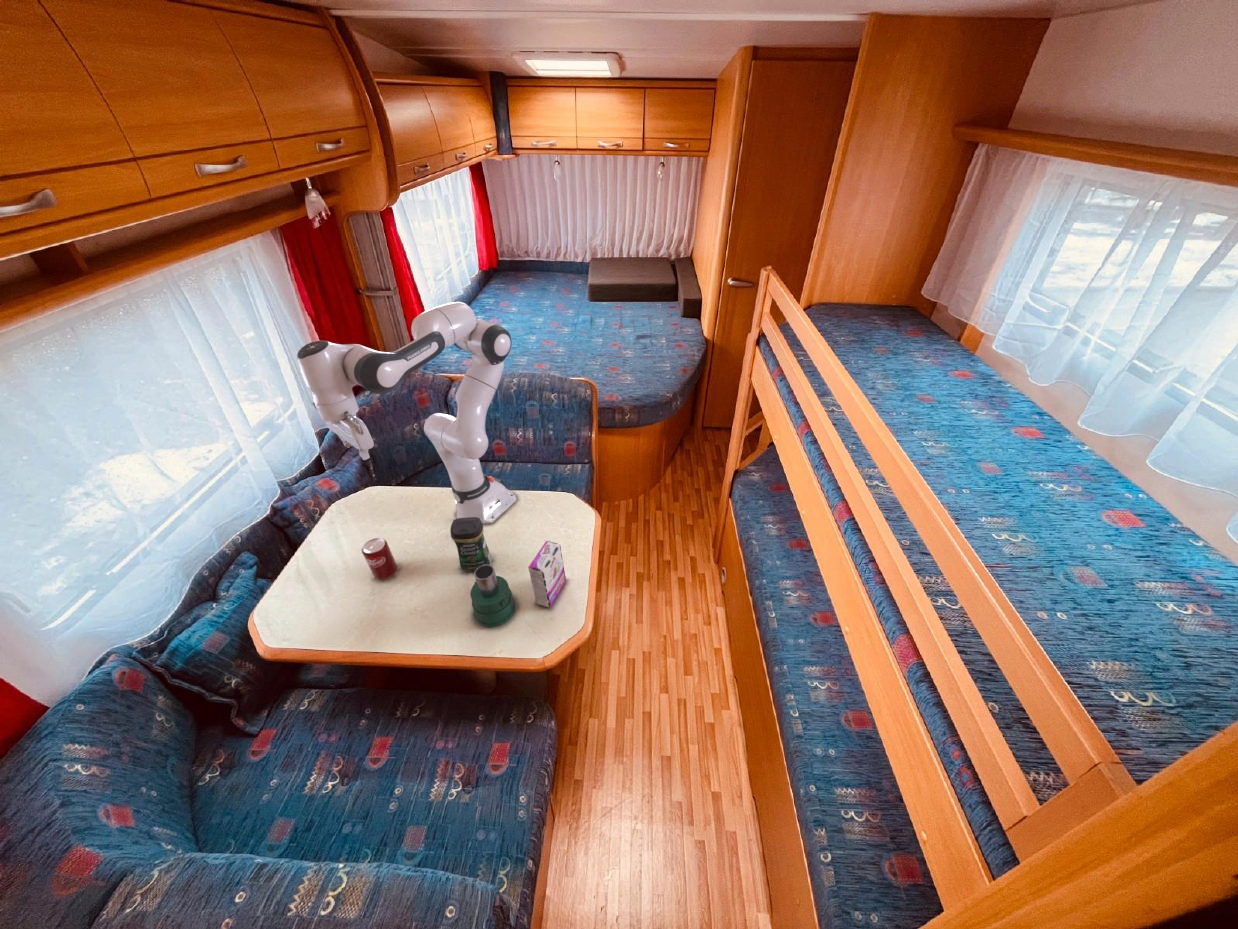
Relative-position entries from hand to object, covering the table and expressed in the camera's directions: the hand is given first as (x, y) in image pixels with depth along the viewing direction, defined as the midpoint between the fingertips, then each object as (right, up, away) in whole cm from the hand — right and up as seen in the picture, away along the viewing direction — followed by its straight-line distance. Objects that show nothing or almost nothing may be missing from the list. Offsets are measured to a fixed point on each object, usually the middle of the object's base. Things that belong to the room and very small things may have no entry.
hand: (357, 452), depth 126 cm
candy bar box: (+50, -42, +17) cm, 68 cm away
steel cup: (+34, -39, +7) cm, 52 cm away
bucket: (+34, -46, +12) cm, 59 cm away
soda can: (-5, -38, +25) cm, 46 cm away
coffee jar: (+24, -36, +27) cm, 51 cm away
